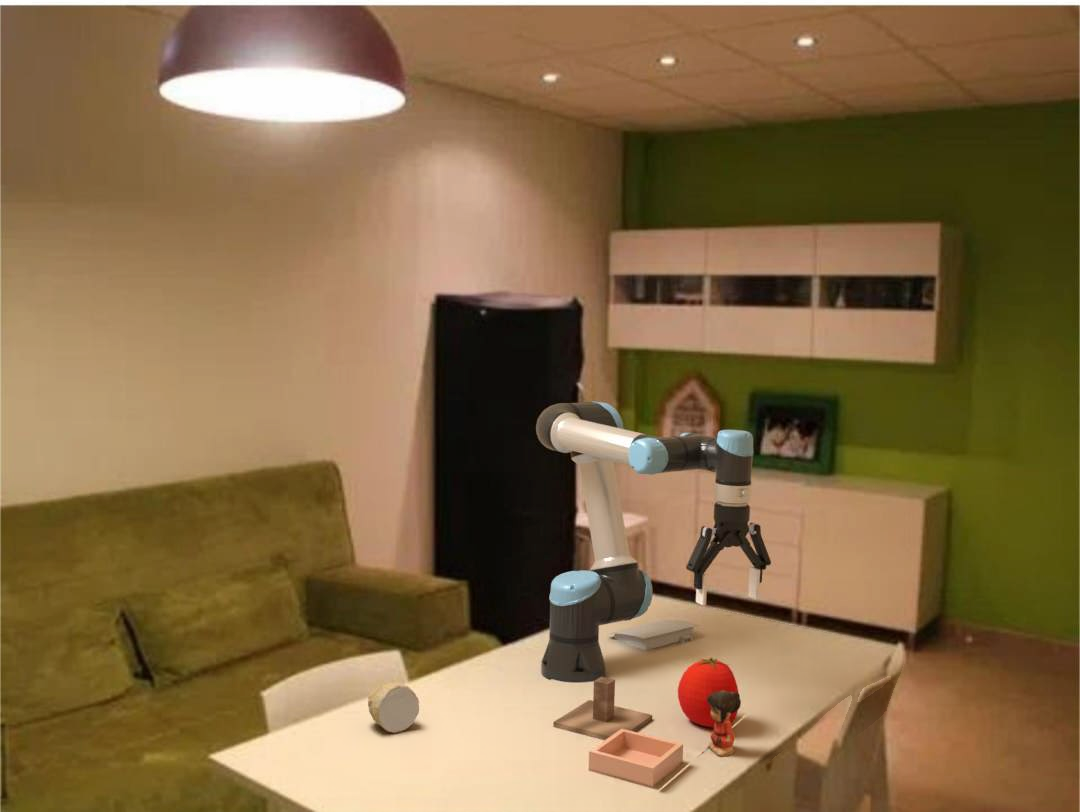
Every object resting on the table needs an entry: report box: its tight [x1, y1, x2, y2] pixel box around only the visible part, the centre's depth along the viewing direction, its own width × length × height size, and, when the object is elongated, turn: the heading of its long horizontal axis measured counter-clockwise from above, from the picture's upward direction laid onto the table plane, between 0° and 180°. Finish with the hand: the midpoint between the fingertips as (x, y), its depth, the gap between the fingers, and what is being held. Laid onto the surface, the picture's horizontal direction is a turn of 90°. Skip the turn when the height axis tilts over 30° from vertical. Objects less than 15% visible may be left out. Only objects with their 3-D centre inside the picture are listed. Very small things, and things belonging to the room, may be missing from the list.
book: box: [607, 619, 700, 651], centre depth 274 cm, size 15×23×4 cm, turn 129°
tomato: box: [677, 657, 739, 729], centre depth 215 cm, size 13×11×14 cm
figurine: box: [707, 690, 742, 757], centre depth 203 cm, size 6×6×12 cm
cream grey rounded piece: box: [367, 681, 420, 734], centre depth 211 cm, size 10×10×10 cm
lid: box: [553, 676, 653, 741], centre depth 214 cm, size 15×15×9 cm
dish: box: [588, 729, 684, 789], centre depth 194 cm, size 13×13×4 cm
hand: (727, 600), depth 223 cm, fingers open, 13 cm apart
